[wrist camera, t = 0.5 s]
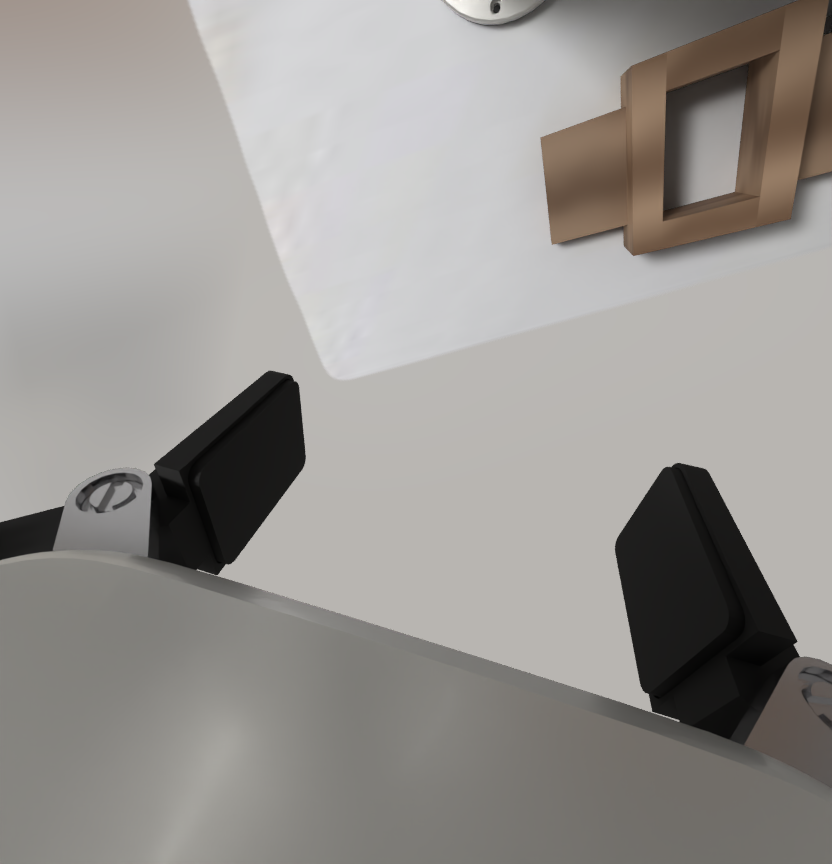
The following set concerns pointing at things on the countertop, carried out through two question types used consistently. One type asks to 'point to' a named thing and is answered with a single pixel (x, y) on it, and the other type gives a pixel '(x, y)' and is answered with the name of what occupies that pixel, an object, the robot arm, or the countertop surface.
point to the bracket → (829, 9)
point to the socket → (645, 137)
